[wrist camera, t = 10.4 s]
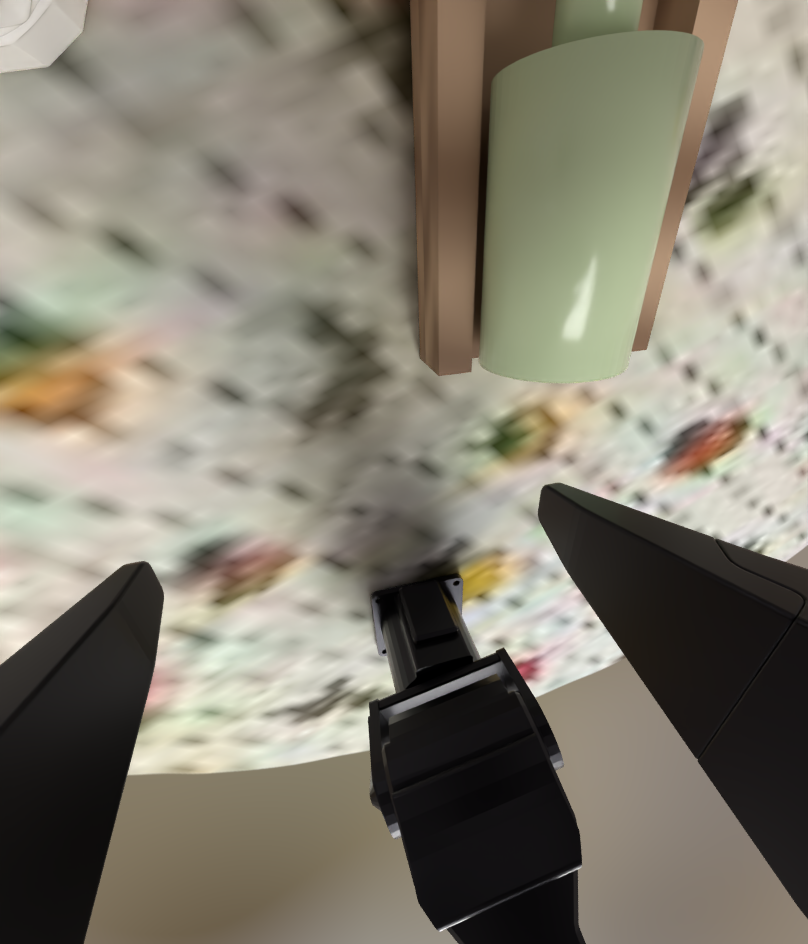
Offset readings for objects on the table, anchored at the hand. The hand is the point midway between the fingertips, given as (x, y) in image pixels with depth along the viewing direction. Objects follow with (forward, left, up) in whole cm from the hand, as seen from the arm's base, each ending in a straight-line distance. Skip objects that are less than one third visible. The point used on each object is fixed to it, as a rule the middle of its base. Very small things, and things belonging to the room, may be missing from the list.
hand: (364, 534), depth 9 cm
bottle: (+8, -10, -11) cm, 17 cm away
